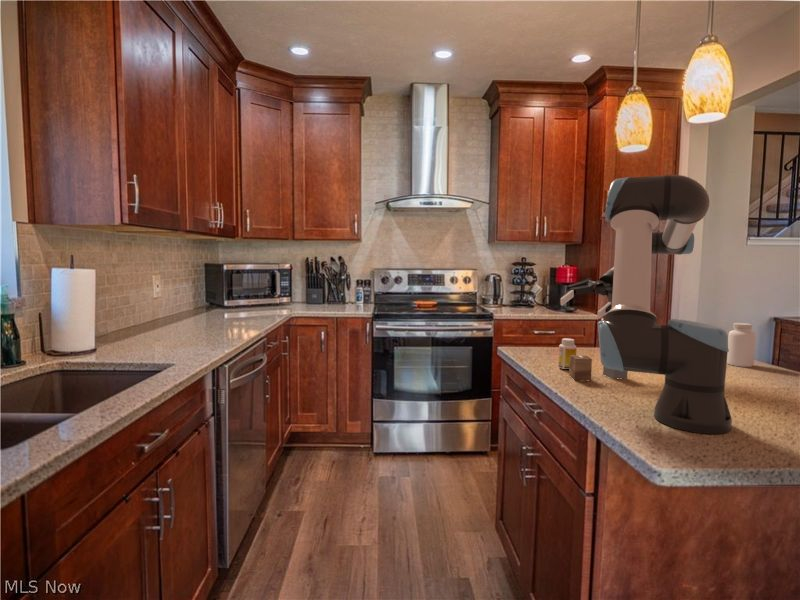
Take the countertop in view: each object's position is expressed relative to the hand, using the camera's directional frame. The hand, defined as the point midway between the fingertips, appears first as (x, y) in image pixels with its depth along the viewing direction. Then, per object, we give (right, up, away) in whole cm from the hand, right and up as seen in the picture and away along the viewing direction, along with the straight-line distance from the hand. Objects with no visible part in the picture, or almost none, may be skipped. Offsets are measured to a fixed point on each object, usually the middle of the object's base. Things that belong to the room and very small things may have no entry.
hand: (579, 308), depth 151 cm
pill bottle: (+63, -21, +14) cm, 68 cm away
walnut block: (-3, -22, -7) cm, 23 cm away
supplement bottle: (-2, -21, +6) cm, 22 cm away
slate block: (+9, -22, -5) cm, 24 cm away
